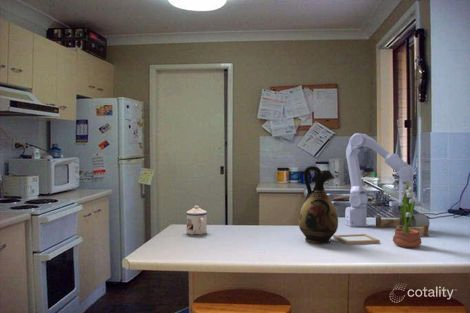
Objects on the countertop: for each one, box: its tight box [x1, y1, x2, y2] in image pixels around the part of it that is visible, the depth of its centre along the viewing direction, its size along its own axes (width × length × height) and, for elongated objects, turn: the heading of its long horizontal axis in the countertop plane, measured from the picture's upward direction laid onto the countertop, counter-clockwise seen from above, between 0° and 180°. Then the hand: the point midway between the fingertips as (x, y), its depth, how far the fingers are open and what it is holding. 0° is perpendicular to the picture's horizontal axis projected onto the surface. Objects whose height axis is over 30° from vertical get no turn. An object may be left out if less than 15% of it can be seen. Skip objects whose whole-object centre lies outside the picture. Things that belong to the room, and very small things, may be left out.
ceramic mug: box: [409, 213, 430, 227], centre depth 174 cm, size 11×8×8 cm
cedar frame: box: [375, 216, 430, 237], centre depth 172 cm, size 13×21×4 cm, turn 5°
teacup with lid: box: [185, 205, 208, 235], centre depth 165 cm, size 12×9×12 cm
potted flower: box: [392, 181, 422, 249], centre depth 145 cm, size 12×10×25 cm
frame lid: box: [332, 233, 380, 246], centre depth 153 cm, size 14×11×1 cm
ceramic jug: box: [297, 165, 339, 245], centre depth 152 cm, size 17×15×30 cm
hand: (405, 222), depth 172 cm, fingers closed
